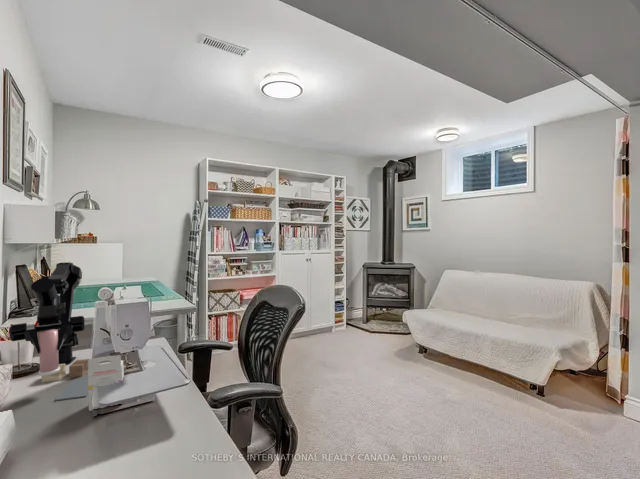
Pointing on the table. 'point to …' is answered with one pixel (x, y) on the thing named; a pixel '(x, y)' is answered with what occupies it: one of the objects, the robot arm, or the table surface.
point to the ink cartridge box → (103, 373)
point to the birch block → (55, 375)
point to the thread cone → (48, 352)
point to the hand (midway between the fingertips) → (48, 351)
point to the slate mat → (75, 390)
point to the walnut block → (78, 368)
